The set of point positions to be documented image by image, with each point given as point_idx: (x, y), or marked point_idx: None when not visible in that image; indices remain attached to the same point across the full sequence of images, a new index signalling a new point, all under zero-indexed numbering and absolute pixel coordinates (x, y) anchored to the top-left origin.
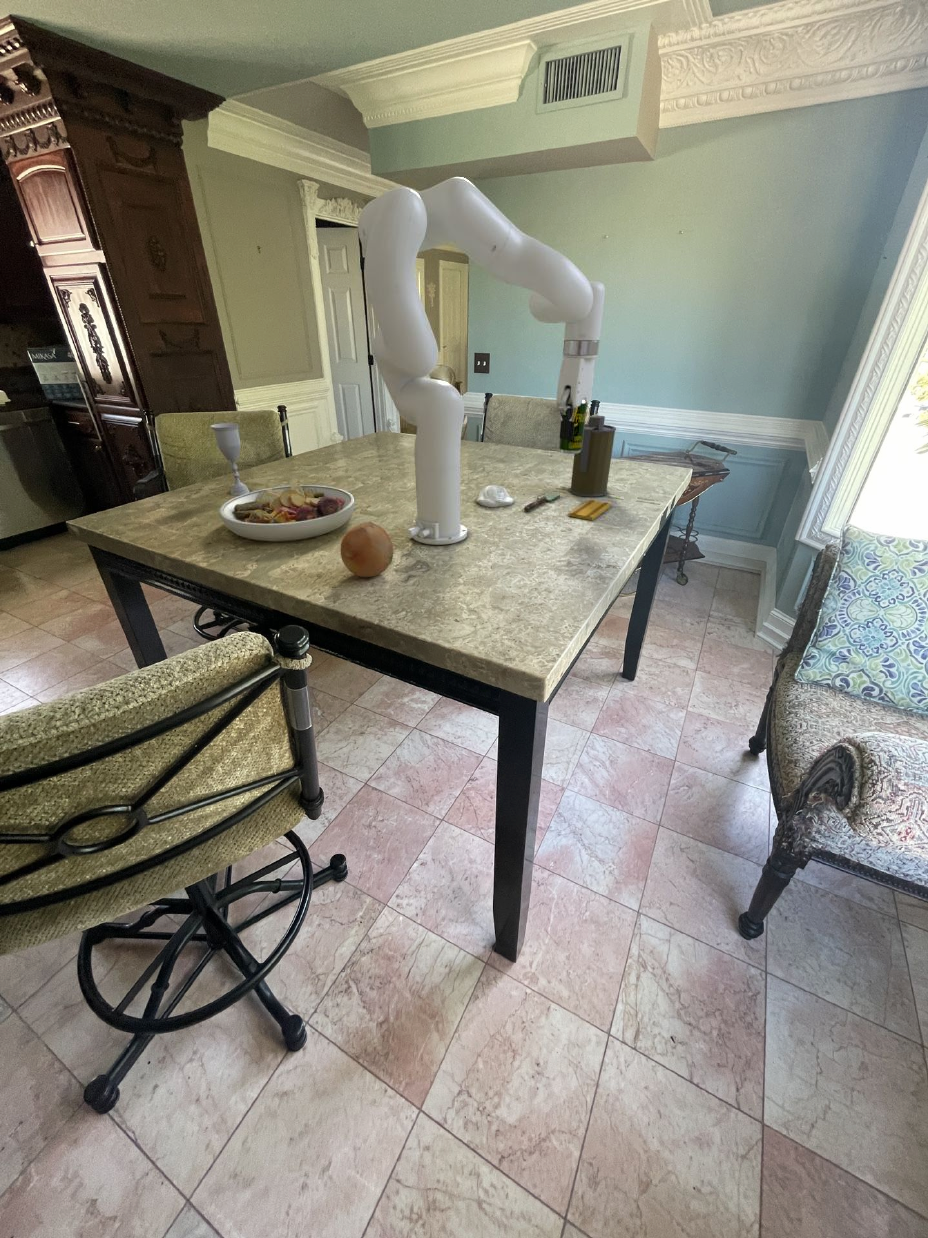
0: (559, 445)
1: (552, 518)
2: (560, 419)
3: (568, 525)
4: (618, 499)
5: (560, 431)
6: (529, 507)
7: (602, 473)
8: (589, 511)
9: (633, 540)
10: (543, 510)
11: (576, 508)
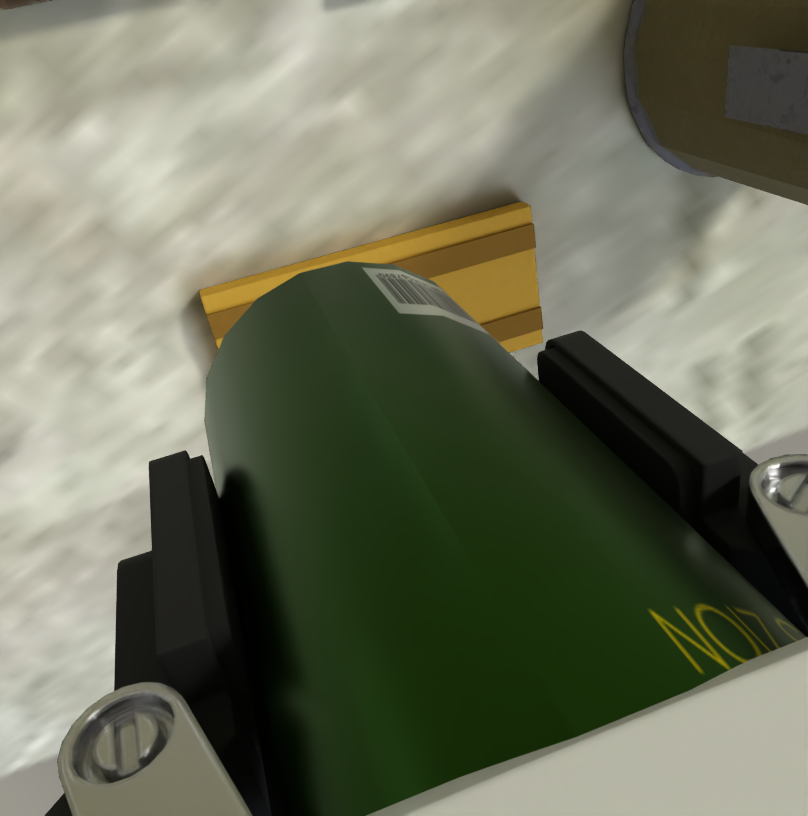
0: (249, 324)
1: (62, 248)
2: (67, 733)
3: (51, 400)
4: (682, 282)
5: (153, 523)
6: (14, 5)
7: (790, 197)
8: None
9: None
10: (144, 78)
11: (313, 269)
